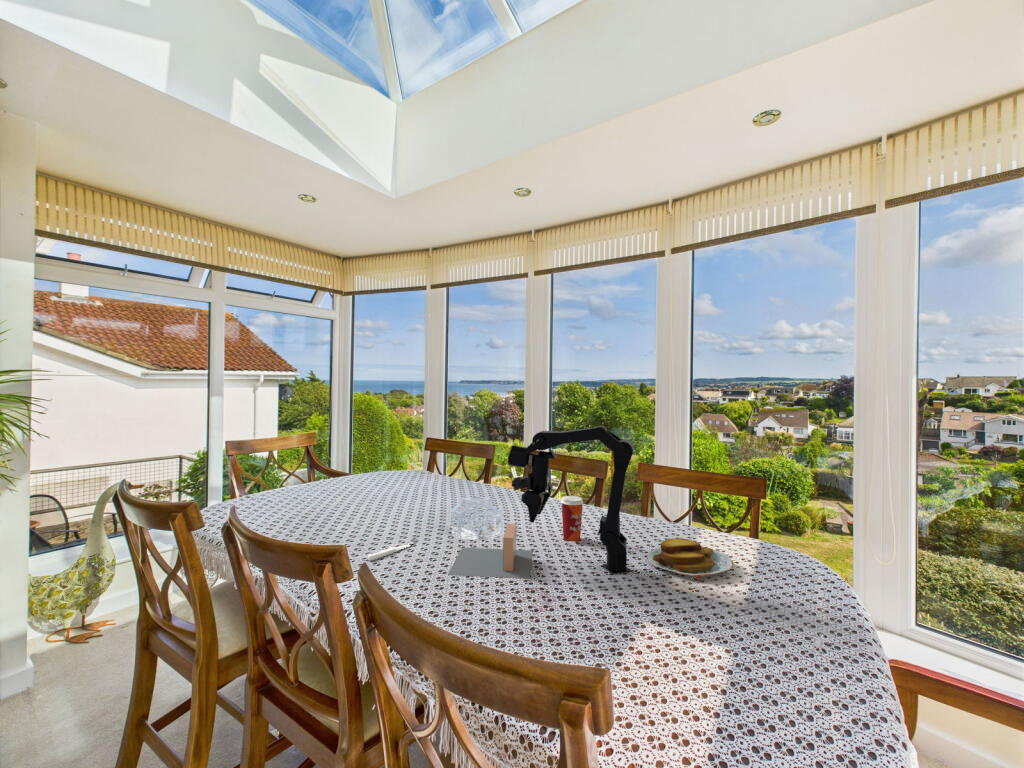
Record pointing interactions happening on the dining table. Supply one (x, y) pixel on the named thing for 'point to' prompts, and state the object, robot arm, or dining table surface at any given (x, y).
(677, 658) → the dining table surface
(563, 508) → the coffee cup
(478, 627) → the dining table surface
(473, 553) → the mat
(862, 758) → the dining table surface
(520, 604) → the dining table surface
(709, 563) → the food on plate
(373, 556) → the knife
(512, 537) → the tile
